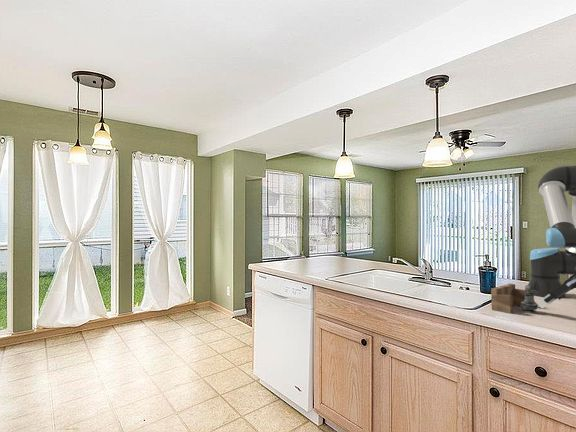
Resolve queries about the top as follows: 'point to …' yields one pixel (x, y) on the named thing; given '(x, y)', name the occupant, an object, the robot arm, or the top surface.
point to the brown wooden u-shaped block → (506, 297)
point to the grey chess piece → (529, 300)
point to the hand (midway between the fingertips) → (539, 305)
